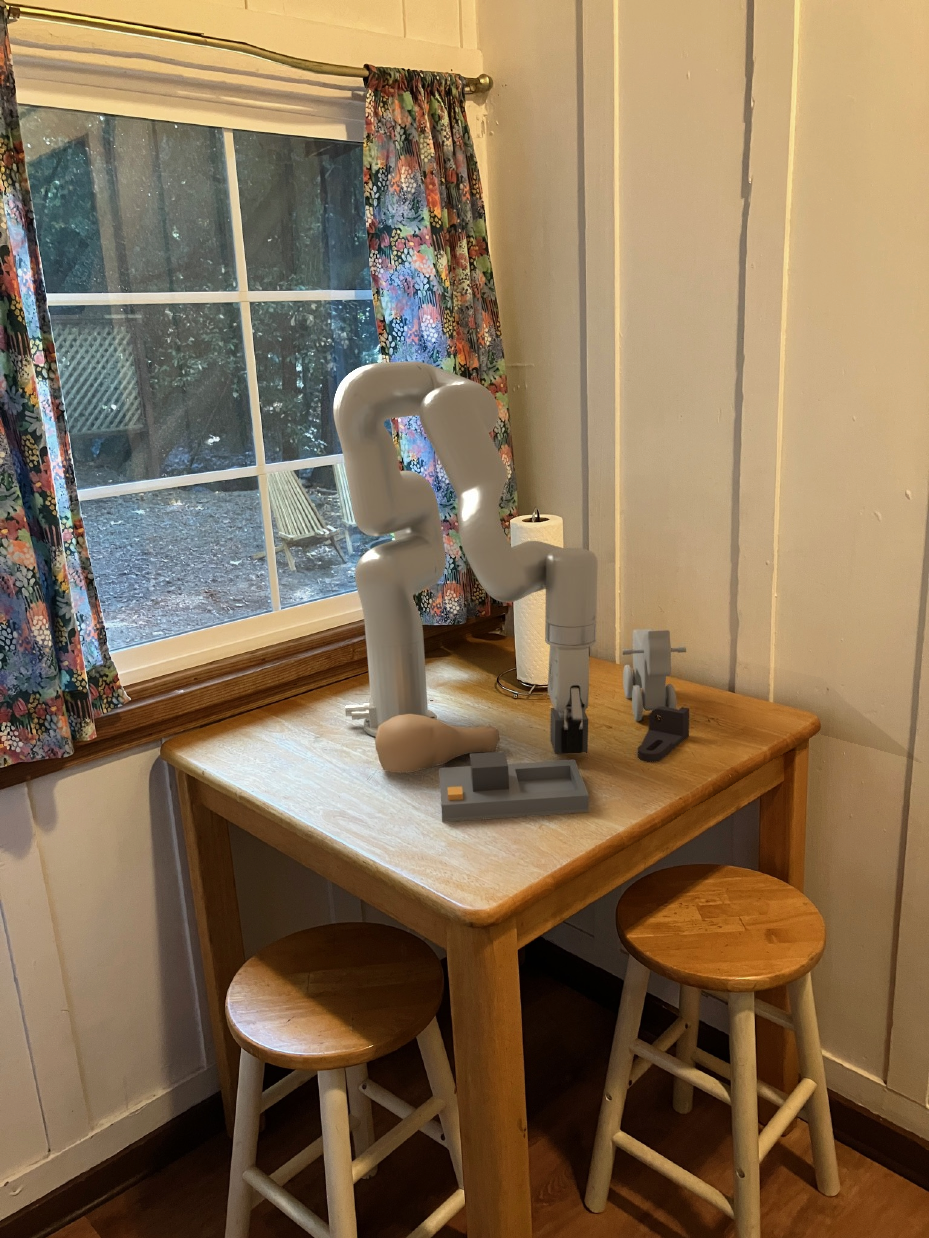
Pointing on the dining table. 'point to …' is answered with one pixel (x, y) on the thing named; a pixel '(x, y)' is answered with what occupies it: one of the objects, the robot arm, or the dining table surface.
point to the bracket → (664, 733)
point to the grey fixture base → (510, 789)
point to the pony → (650, 671)
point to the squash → (428, 742)
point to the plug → (558, 724)
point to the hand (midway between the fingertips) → (568, 743)
